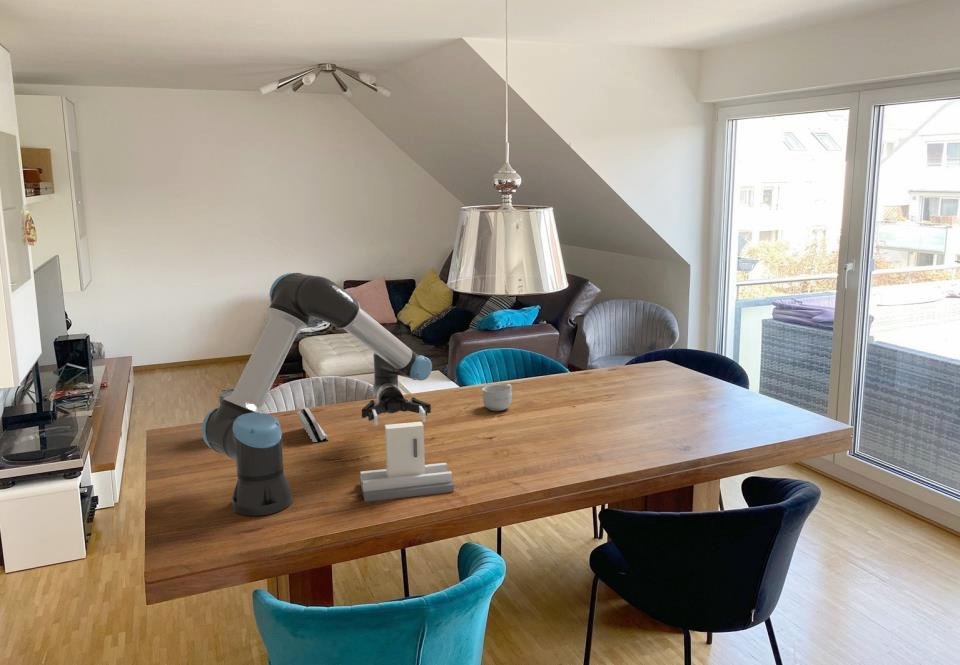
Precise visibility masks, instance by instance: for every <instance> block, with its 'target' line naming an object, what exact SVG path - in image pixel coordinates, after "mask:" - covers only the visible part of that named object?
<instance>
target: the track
mask: <svg viewBox="0 0 960 665" xmlns="http://www.w3.org/2000/svg"><path fill="white" fill-rule="evenodd" d="M359 476H360V477H359V484H360V488H361V492H362V497H363V499H364V500H363V501H364V502H365V503H369V502H374V501H375V502H376V501H384V500H392V499H401V498H411V497H419V496H428V495H435V494H445V493H454V492H455V488H454V487H455V485H454V482H453V472H452V470H451V471H450V470H449V471H448V464H447V462H440V463H439V462H438V463H429V464H425V474H420V475H411V476H402V477H392V478H387V468H383V469H382V468H381V469H373V470H365V471H363V470H362V471H360V475H359Z"/></svg>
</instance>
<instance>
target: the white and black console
mask: <svg viewBox="0 0 960 665" xmlns="http://www.w3.org/2000/svg"><path fill="white" fill-rule="evenodd" d="M296 413H297V416H298V419H299V420H300V423H301V425H302V427H303V429H304V430H306V431H305V432H306V434H307V433H308V434H307V436H310V437H309V438H310V440H311V439H312V440H311V441H312V443H313V442H317V443H318V441H323V440H324V439H325V440H326V441H327V440H328V439H329V436H328V435H327V434H326V433H325V431H324V429H323V428H322V427H321V426H320V424H319V423H318V422H317V419H316V418H315V417H314V415H313V412H311V410H310V409H309V407H303V409H301V410H300V409H299V410H298V411H296Z"/></svg>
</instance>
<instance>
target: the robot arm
mask: <svg viewBox="0 0 960 665" xmlns="http://www.w3.org/2000/svg"><path fill="white" fill-rule="evenodd" d="M269 289H270V290H269V297H270V298H269V300H270V305H269V306H268V312H269V320H268V321H267V323H266V326H265V327H264V329H263V331H262V333H261V336H260V337H259V339H258V341H257V344H256V346H255V347H254V349H253V351H252V353H251V355H250V357H249V359H248V360H247V363H246V365H245V367H244V369H243V371H242V373H241V375H240V377H239V380H238V381H237V382H236V385H235V387H234V388H235V389H234V391H233V393H232V395H230V396H228V397H225V398H223V400H222V402H221V404H220V403H219V406H218V407H215V408H213V409H211V410H210V411H209V412H208V413H207V414H206V415H205V416H204V418H203V420H202V424H201V435H202V439H203V441H204V442H205V444H206V445H207V446H208V448H211V449H212V450H213V451H214V452H216V453H219V454H221V455H224V456H226V457H228V458H231V459H234V460H235V464H236V465H235V466H236V476H237V479H236V482H235V487H234V490H233V495H232V497H231V498H232V500H231V501H232V502H231V503H232V510H233V511H234V512H235V513H237V514H238V515H239V514H240V515H241V516H242V515H243V516H248V517H257V516H258V517H260V516H268V515H272V514H276V513H279V512H281V511H283V510H285V509H287V508H288V507H290V506H291V504H292V502H293V492H292V489H291V488H290V485H289V482H288V480H287V477H286V475H285V472H284V471H285V470H284V459H283V458H284V457H283V455H284V454H283V444H282V443H283V441H282V437H283V434H282V430H281V429H282V428H281V424H280V422H279V419H278V418H277V417H276V416H274V415H272V414H269V413H265V412H263V411H262V410H263V409H262V408H263V405H264V402H265V400H266V399H267V396H268V394H269V393H270V390H271V388H272V386H273V384H274V382H275V380H276V378H277V375H278V374H279V373H280V370H281V368H282V365H283V364H284V362H285V359H286V357H287V355H288V354H289V351H290V349H291V348H292V346H293V344H294V341H295V340H296V338H297V335H298V333H299V331H301V330H303V329H306V328H307V327H308V325H309V323H310V321H311V320H312V318H313V319H316V320H321V321H323V322H325V323H327V324H330V325H332V326H333V327H335V328H336V329H337V330H338V329H341V330H342V329H343V330H344V331H345V332H347V333H348V334H350V335H351V336H352V337H354V338H355V339H356V340H357V341H358V342H360V343H361V344H362V345H364V346H366V348H368V349H369V350H371V351H372V352H373V370H374V375H373V376H374V378H373V385H372V386H373V393H374V395H375V397H376V399H377V401H378V402H377V401H375V400H374V399H371V400H369V403H368V404H366V405H365V406H364V407H362V409H361V418H362V419H365V418H367V417H368V419H367V420H368V421H373V423H374V426H378V425H379V417H378V416H379V415H380V414H386V413H388V414H395V413H398V412H412V413H416V414H418V416H419V418H421V422H422V423H423V422H426V421H427V418H426V417H427V416H428V414H431V412H432V408H431V407H432V406H431V404H430V403H428V402H426V401H423V400H419V399H417V398H416V397H411V398H410V400H409V399H406V398H405V397H404V395H403V393H402V392H401V390H400V388H399V376H400V377H404V378H407V379H411V380H413V381H425V380H427V379H428V378H429V376H431V373H432V369H433V365H432V364H433V363H432V361H431V359H430V358H428V357H426V356H424V355H422V354H420V355H419V354H417V353H416V352H415V351H414V350H413V349H411V348H410V347H408V346H407V345H406V344H405V343H404V342H402V341H401V340H400V339H399V338H397V337H396V336H395V335H394V334H393V333H391V332H390V331H389V330H388V329H386V328H385V327H384V326H383V325H382V324H380V323H379V322H378V321H377V320H375V319H374V318H373V317H372V316H371V315H370V314H368V313H367V312H366V311H365V310H363V309H362V308H361V305H360V302H359V301H358V300H357V299H356V298H354V297H353V296H352V295H351V294H350V293H348V292H347V290H345V289H344V288H342V287H341V286H339V285H338V284H337V283H335V282H334V281H333V280H331V279H329V278H328V277H324V276H320V275H319V276H318V275H312V274H311V275H310V274H304V273H301V272H292V273H291V272H288V273H285V274H282V275H280V276H278V277H277V278H276V279H275V280H274V281H273V282H272V284H271V287H270V288H269Z"/></svg>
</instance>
